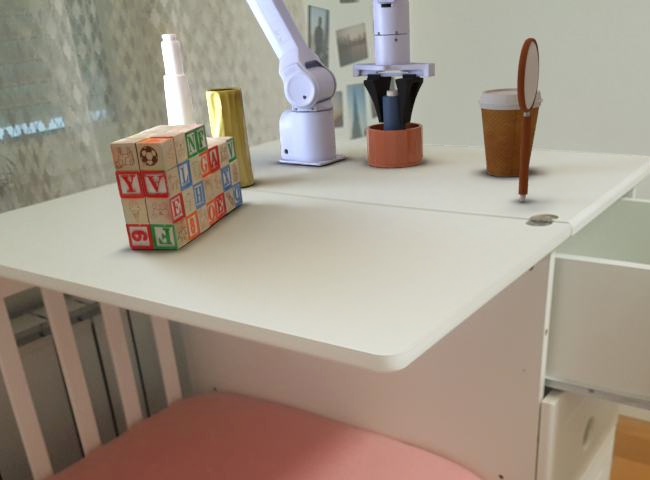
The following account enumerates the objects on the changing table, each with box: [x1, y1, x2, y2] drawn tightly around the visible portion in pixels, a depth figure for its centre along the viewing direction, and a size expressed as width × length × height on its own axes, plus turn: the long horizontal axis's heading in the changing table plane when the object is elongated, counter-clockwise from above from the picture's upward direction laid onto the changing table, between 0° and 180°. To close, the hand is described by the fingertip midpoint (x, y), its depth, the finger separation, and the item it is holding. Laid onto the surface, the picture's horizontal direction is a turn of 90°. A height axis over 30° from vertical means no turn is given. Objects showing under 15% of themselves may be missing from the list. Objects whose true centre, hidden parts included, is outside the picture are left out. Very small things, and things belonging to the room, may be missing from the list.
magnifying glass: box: [516, 37, 540, 202], centre depth 90 cm, size 9×2×20 cm, turn 155°
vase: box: [205, 86, 256, 189], centre depth 110 cm, size 6×6×14 cm
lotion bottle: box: [383, 89, 406, 130], centre depth 119 cm, size 4×4×7 cm
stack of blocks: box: [109, 123, 244, 250], centre depth 90 cm, size 21×6×12 cm, turn 168°
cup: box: [365, 121, 424, 169], centre depth 122 cm, size 9×9×6 cm
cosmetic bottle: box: [160, 33, 197, 125], centre depth 114 cm, size 6×6×22 cm
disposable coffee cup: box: [477, 87, 544, 178], centre depth 109 cm, size 10×10×12 cm
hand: (394, 122), depth 120 cm, fingers closed on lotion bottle, 4 cm apart
